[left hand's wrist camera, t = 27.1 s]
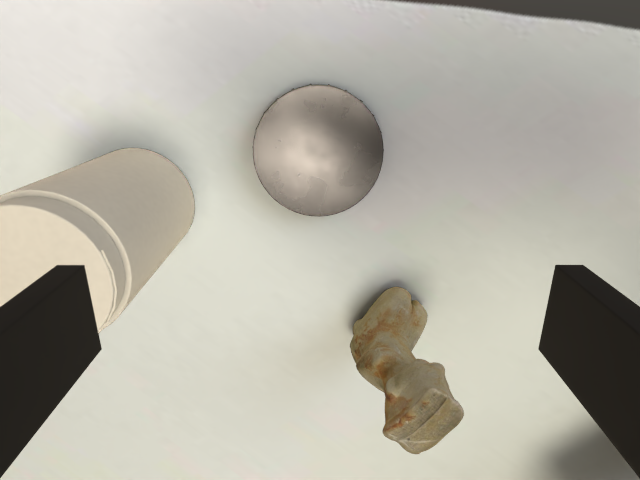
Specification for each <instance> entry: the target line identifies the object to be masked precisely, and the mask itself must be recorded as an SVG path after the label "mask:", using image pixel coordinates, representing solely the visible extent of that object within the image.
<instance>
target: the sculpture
mask: <svg viewBox="0 0 640 480" xmlns="http://www.w3.org/2000/svg"><path fill="white" fill-rule="evenodd" d="M426 322H427V313H426V310H425V309H424V308H423V306H422V305H421V304H420V303H419V302H418V301H417V300H414V301H411V295H410V293H409V292H408V291H407V290H405V289H403V288H400V287H392V288H390V289H388V290H386V291H385V292H383V293H382V294H381V295H380V296H379V298H378V299H377V300H376V301H375V302H374V304H373V305H372V306H371V307H370V309H369V310H368V311H367V313H366V314H365V316H364V317H363V318H362V319H359V320H357V321H356V323H355V324H354V326H353V334H354V336H353V338H352V341H351V343H350V348H351V353H352V355H353V358H354V360H355V362H356V367H357V370H358V371H359V373H360V374H361V375H362V376H363V377H364V378H365V379H366V380H367V381H368V382H370V383H371V384H372V385H374V386H375V387H376V388H378V389H379V390H381V391H383V392H384V393H385V397H386V398H385V421H386V422H385V426H384V428H383V434H384V436H386V437H387V438H389V439H391V440H393V441H396V442H398V443H399V444H400V445H401V446H402V447H403V448H404V449H405V450H406V451H408V452H410V453H412V454H419V453H421V452H423V451H426V450H428V449H430V448H432V447H433V446H435V445H436V444H437V443H438V442H439V441H440V440H441V439H442V438H443V437H444V436H445V435H447V434H448V433H449V432H450V431H451V430H452V429H454V428H455V427H456V426H457V425H458V424H459V423H460V421H461V420H462V418H463V416H464V411H463V409H462V407H461V405H460V404H459V403H458V401H456V400H455V399H454V397H453V396H452V394H451V392H450V389H449V385H448V383H447V381H446V378H445V369H444V367H443V365H441V364H439V363H429V362H427V361H425V360H422V359H416V358H415V357H414V355H413V354H412V353H411V351H412V350H413V348H414V346H415V345H416V343H417V341H418V339H419V338H420V336H421V334H422V332H423V330H424V327H425V325H426Z"/></svg>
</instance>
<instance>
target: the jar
mask: <svg viewBox="0 0 640 480" xmlns="http://www.w3.org/2000/svg"><path fill="white" fill-rule="evenodd" d="M194 211H195V204H194V197H193V193H192V190H191V187H190V185H189V183H188V181H187V179H186V178H185V176H184V175H183V173H182V172H181V171H180V170H179V168H177V167H176V166H175V165H174V164H173V163H172V162H171V161H169V160H168V159H167V158H165V157H163V156H162V155H160V154H157V153H155V152H153V151H149V150H146V149H141V148H124V149H120V150H116V151H113V152H111V153H108V154H106V155H103V156H101V157H98V158H95V159H93V160H90V161H88V162H85V163H83V164H80V165H78V166H75V167H72V168H70V169H67V170H65V171H62V172H60V173H57V174H55V175H52V176H49V177H47V178H44V179H42V180H39V181H37V182H34V183H32V184H29V185H26V186H24V187H21V188H19V189H16V190H14V191H11V192H9V193H6V194H3V195H1V196H0V307H1V306H2V305H4V304H5V303H6V302H8V301H9V300H10V299H12V298H13V297H14V296H16V295H17V294H18V293H20V292H21V291H22V290H24V289H25V288H27V287H28V286H29V285H31V284H32V283H33V282H35V281H36V280H37V279H39V278H40V277H41V276H43V275H44V274H45V273H47V272H48V271H50V270H51V269H52V268H54V267H55V266H56V265H85V270H86V275H87V280H88V285H89V290H90V295H91V300H92V305H93V310H94V315H95V319H96V324H97V329H98V334H99V333H100V331H101V330H102V329H104V328H106V327H107V326H109V325H110V324H111V323H113V322H114V321H115V320H116V319H117V318H118V317H119V315H120V314H121V313H122V312H123V311H124V309H125V308H126V307H127V306H128V304H129V303H130V302H131V301H132V300H133V298H134V297H135V296H136V295H137V293H138V292H139V291H140V290H141V289H142V287H143V286H144V285H145V284H146V282H147V281H148V280H149V279H150V278H151V276H152V275H153V274H154V273H155V272H156V270H157V269H158V268H159V267H160V265H161V264H162V263H163V262H164V261H165V259H166V258H167V257H168V256H169V254H170V253H171V252H172V251H173V250H174V248H175V247H176V246H177V245H178V243H179V242H180V241H181V240H182V239H183V237H184V236H185V235H186V234H187V232H188V230H189V229H190V227H191V224H192V222H193V218H194Z"/></svg>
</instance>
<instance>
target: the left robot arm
mask: <svg viewBox="0 0 640 480" xmlns="http://www.w3.org/2000/svg"><path fill="white" fill-rule="evenodd" d="M100 350H101V344H100V339H99V334H98V329H97V324H96V319H95V315H94V310H93V305H92V300H91V295H90V290H89V285H88V280H87V275H86V270H85V265H56V266H55V267H54V268H52V269H51V270H50V271H48V272H47V273H45V274H44V275H43V276H41V277H40V278H39V279H37V280H36V281H35V282H33V283H32V284H31V285H29V286H28V287H27V288H25V289H24V290H22V291H21V292H20V293H18V294H17V295H16V296H14V297H13V298H12V299H10V300H9V301H8V302H6V303H5V304H4V305H2V306H1V307H0V478H1V476H2V475H3V474H4V473H5V471H6V470H7V469H8V468H9V466H10V465H11V464H12V462H13V461H14V460H15V459H16V457H17V456H18V455H19V454H20V452H21V451H22V450H23V448H24V447H25V446H26V445H27V443H28V442H29V441H30V440H31V438H32V437H33V436H34V434H35V433H36V432H37V431H38V429H39V428H40V427H41V426H42V424H43V423H44V422H45V420H46V419H47V418H48V417H49V415H50V414H51V413H52V412H53V410H54V409H55V408H56V406H57V405H58V404H59V403H60V401H61V400H62V399H63V397H64V396H65V395H66V394H67V392H68V391H69V390H70V389H71V387H72V386H73V385H74V383H75V382H76V381H77V380H78V378H79V377H80V376H81V375H82V373H83V372H84V371H85V369H86V368H87V367H88V366H89V364H90V363H91V362H92V361H93V359H94V358H95V357H96V355H97V354H98V353H99V352H100ZM539 350H540V352H541V353H542V354H543V355H544V357H545V358H546V359H547V361H548V362H549V363H550V364H551V366H552V367H553V368H554V369H555V371H556V372H557V373H558V375H559V376H560V377H561V378H562V380H563V381H564V382H565V383H566V385H567V386H568V387H569V389H570V390H571V391H572V392H573V394H574V395H575V396H576V397H577V399H578V400H579V401H580V403H581V404H582V405H583V406H584V408H585V409H586V410H587V412H588V413H589V414H590V415H591V417H592V418H593V419H594V420H595V422H596V423H597V424H598V426H599V427H600V428H601V429H602V431H603V432H604V433H605V434H606V436H607V437H608V438H609V440H610V441H611V442H612V443H613V445H614V446H615V447H616V448H617V450H618V451H619V452H620V454H621V455H622V456H623V457H624V459H625V460H626V461H627V462H628V464H629V465H630V466H631V468H632V469H633V470H634V471H635V473H636V474H637V475H638V476H639V478H640V307H639V306H638V305H636V304H635V303H634V302H632V301H631V300H630V299H628V298H627V297H626V296H624V295H623V294H622V293H620V292H619V291H618V290H616V289H615V288H613V287H612V286H611V285H609V284H608V283H607V282H605V281H604V280H603V279H601V278H600V277H599V276H597V275H596V274H595V273H593V272H592V271H590V270H589V269H588V268H586V267H585V266H584V265H555V270H554V275H553V280H552V285H551V290H550V295H549V300H548V305H547V310H546V315H545V319H544V324H543V329H542V334H541V339H540V344H539Z"/></svg>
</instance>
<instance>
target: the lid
mask: <svg viewBox="0 0 640 480" xmlns="http://www.w3.org/2000/svg"><path fill="white" fill-rule="evenodd" d="M362 102H363V101H361V100H359V99H357V98H356V97H355V96H353V95H352V94H350V93H348V92H347V90H345V91H344V90H342V89H340V88H337V87H334V86H330V85H329V84H328V85H311V84H310V85H308V86H303V87H299V88H297V89H292V91H290V92H288V93H286V94H285V95H283V96H282V97H280V98H277V99H276V101H275V102H274V103H273V104H272V105H271V106H270V107H269V108H268V110H267V111H265V112H264V115H263V117H262V119H261V120H260V122H259V125H258V127H257V128H256V133H255V137H254V143H253V158H254V165H255V168H256V172H257V174H258V177H259V179H260V181H261V183H262V185H263V186H264V188H265V189H266V190H267V192H268V193H269V194H270V195H271V196H272V197H273V198H274V199H275V200H276V201H277V202H278V203H280V204H281V205H283V206H284V207H286V208H288V209H290V210H292V211H294V212H297V213H300V214H303V215H309V216H328V215H333V214H337V213H340V212H343V211H345V210H347V209H349V208H351V207H352V206H354V205H355V204H357V203H358V202H359V201H360V200H362V199H363V198H364V197H365V196H366V195H367V193H368V192H369V191H370V190H371V188H372V187H373V185H374V184H375V182H376V180H377V178H378V175H379V173H380V170H381V166H382V161H383V151H384V149H383V141H382V135H381V131H380V129H379V126H378V124H377V122H376V120H375V118H374V115H373V114H372V113H371V112H370V111H369V109H368V108H367V107H366V106H365V105H364V104H363V103H362Z"/></svg>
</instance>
